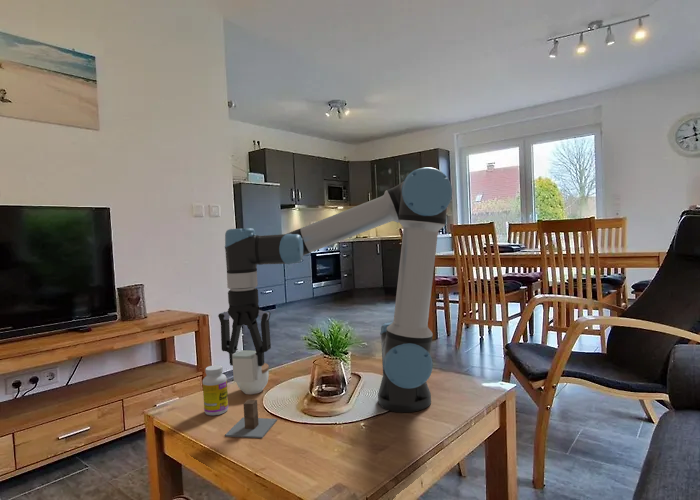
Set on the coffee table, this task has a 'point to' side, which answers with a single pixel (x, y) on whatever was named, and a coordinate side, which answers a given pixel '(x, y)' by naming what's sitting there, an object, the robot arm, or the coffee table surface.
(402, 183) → the robot arm
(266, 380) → the lidded jar
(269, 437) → the coffee table surface
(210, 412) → the supplement bottle
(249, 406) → the post
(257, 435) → the coaster
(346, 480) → the coffee table surface
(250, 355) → the pale grey block
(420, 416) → the coffee table surface
